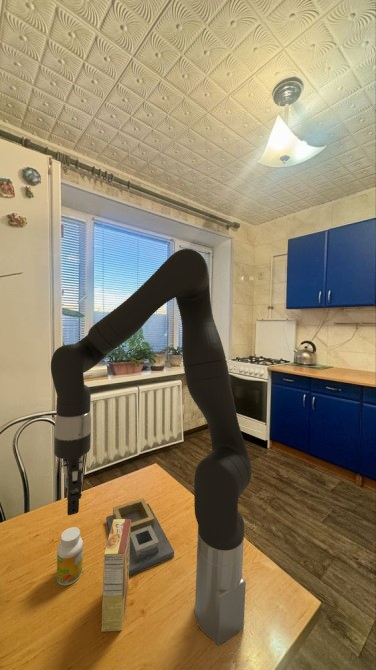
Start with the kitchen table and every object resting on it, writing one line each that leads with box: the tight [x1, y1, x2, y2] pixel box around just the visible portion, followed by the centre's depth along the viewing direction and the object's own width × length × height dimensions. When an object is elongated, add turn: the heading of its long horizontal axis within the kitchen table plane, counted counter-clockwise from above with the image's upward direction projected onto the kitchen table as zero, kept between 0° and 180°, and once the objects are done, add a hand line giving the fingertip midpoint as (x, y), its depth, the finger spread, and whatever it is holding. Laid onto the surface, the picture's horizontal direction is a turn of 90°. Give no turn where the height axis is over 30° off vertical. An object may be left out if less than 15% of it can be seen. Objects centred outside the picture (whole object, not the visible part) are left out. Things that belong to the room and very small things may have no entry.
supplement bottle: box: [56, 526, 84, 586], centre depth 59 cm, size 5×5×10 cm
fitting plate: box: [105, 498, 175, 578], centre depth 69 cm, size 19×13×4 cm
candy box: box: [101, 519, 131, 633], centre depth 52 cm, size 9×4×15 cm, turn 6°
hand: (71, 500), depth 58 cm, fingers open, 8 cm apart
